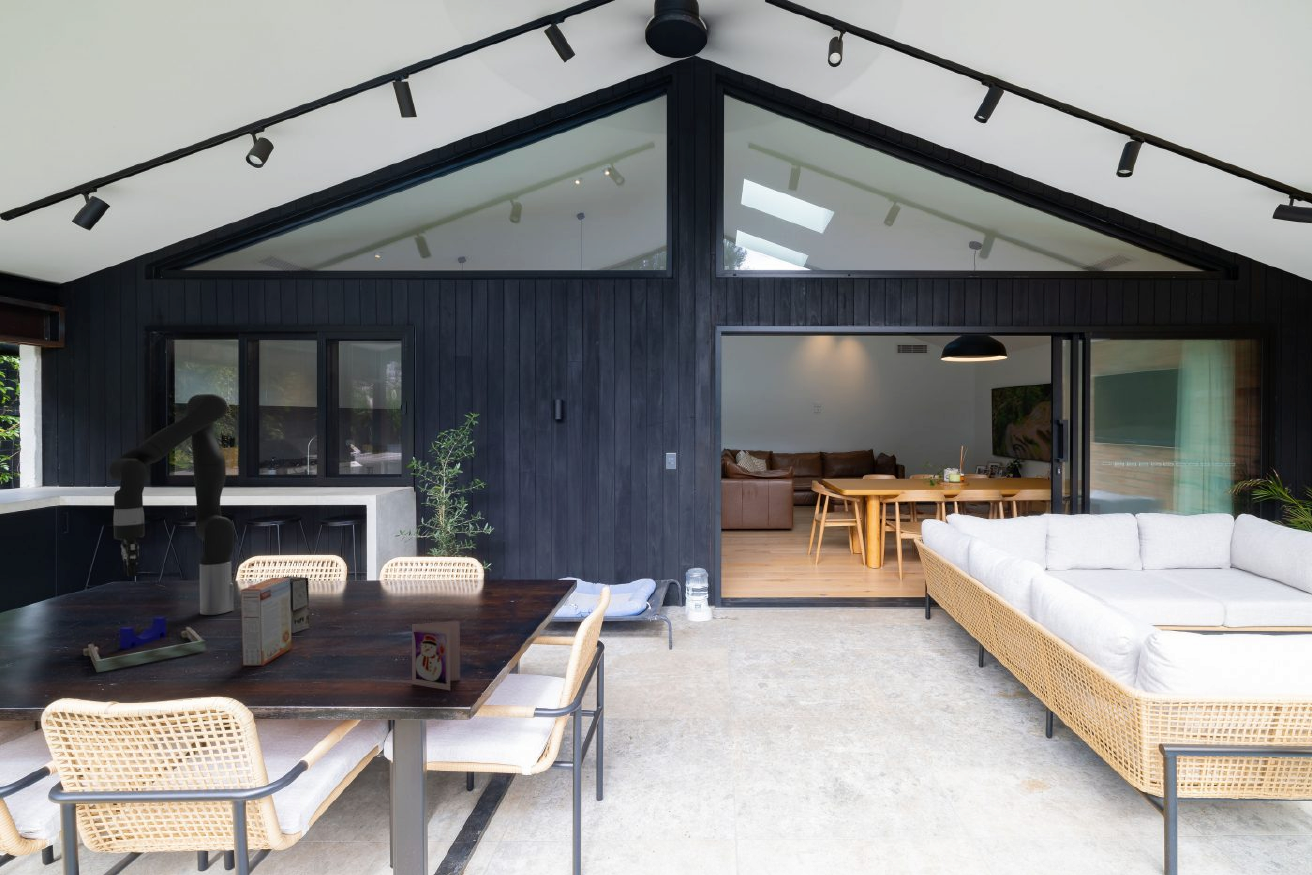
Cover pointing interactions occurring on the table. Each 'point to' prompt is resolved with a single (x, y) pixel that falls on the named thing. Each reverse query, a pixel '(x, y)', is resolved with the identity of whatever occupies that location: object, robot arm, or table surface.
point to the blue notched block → (143, 634)
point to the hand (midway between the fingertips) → (130, 574)
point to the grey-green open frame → (147, 653)
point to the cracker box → (266, 621)
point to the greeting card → (436, 654)
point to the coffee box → (299, 603)
